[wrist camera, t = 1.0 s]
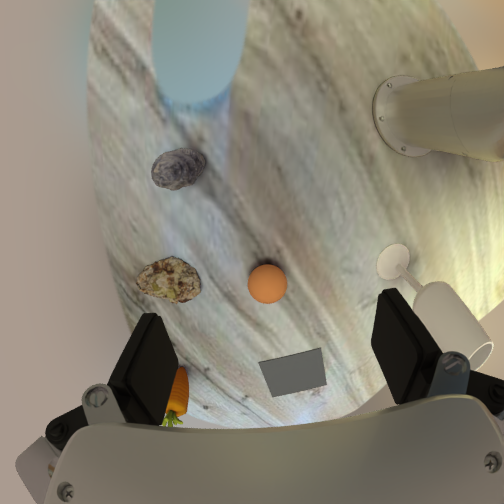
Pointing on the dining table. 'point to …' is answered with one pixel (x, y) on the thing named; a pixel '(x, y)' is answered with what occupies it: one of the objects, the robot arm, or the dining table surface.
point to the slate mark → (294, 372)
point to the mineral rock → (170, 280)
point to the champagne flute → (439, 310)
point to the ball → (267, 284)
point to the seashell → (177, 168)
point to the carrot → (177, 398)
